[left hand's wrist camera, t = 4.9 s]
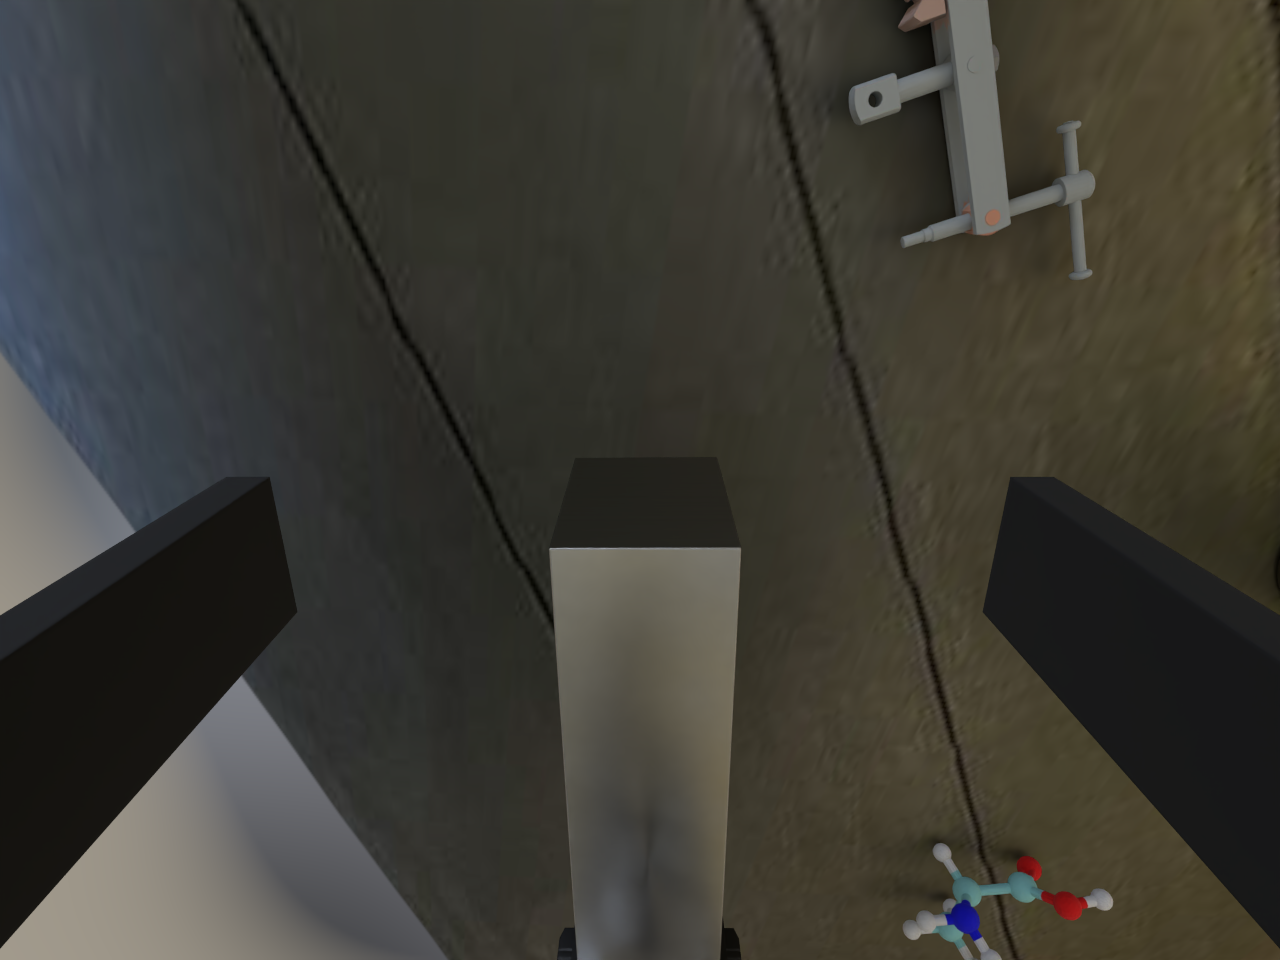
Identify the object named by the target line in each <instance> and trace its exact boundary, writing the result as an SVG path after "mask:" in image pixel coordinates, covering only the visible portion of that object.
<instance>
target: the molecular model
mask: <svg viewBox="0 0 1280 960" xmlns="http://www.w3.org/2000/svg"><path fill="white" fill-rule="evenodd" d="M933 854H934V856H935V858H936V859H937V860H939V861H940V862H943V863H944V864H945V866H946V868H947V869H948V871H949V872H950V874H951V875H952V877H953V878H954V880H955V881H954V884H953V894H954V896H955V898H956V899H957V901H955V900H953V899H946V900H945V901H944V903H943V910H944V912H942V913H941V914H940V915H933V914H932V913H930V912H929V911H925V910H923V911H920V912H919V913H918V914H917V917H916V921H917V922H915V921H914V920H907V921H906V922H905V923H904V924H903V931H904V933H905V935H906V936H907V937H908V938H909V939H912V940H916V939H918V938H919V937H920V935H921V934H927V933H939V934H940V935H941V936H942V938H944V939H945V940H947V941H950V942H954V943H955V944H956V946H957V948H958V949H959V951H960V953H961V955H962V956H963V958H964V960H978V959H976V958H973V956H972V954H971V953H970V951H969V949H968V948H967V946H966V945H965V943H964V941H963V940H962V936H963V933H966V934H970V936H971V937H972V939H973V941H974V942H975V944H976V946H977V947H978V949H979V951H980V952H981V960H1002V959H1001V957H1000V955H999V954H998V953H997V952H996V951H994V950H992V949H989V947H988V945H987V944H986V942H985V940H984V939H983V937H982V936H981V934H980V933H979V931H978V928H979V924H980V921H979V916H978V914H977V912H976V910H975V909H974V908H973V907H974V906H976V905H977V904H978V903H979V902H980V900H981V896H983V895H996V894H1008V893H1011V894H1012V896H1013V897H1014V898H1016V899H1017V900H1019V901H1021V902H1031V901H1033V900H1034V899H1035V898H1038V899H1040V900H1043V901H1045V902H1047V903H1049V904H1052V905H1054V908H1055V910H1056V911H1057V913H1058V914H1059V915H1060V916H1061V917H1063V918H1065V919H1067V920H1076V919H1077V918H1079V917H1080V915H1081V913H1082V909H1084V908H1090V907H1095V906H1096V907H1097V908H1098V909H1101V910H1109V909H1110V908H1111V907H1112V906H1113V899H1112V897H1111V895H1110V894H1109V893H1108V892H1107V891H1105V890H1103V889H1100V888H1097V889H1094V890H1093V891H1092V892H1091V895H1090V896H1085V897H1080V898H1076V897H1075V896H1074V895H1073V894H1071V893H1069V892H1058V893H1057V894H1056V895H1053V894H1051V893H1048V892H1046V891H1043V890H1041V889H1038V888H1037V885H1036V883H1035V880H1038V879H1039V878H1040V876H1041V874H1042V869H1041V866H1040V864H1039V863H1038V861H1036V860H1035V859H1034V858H1032V857H1030V856H1023V857H1021V858H1020V859H1019V860H1018V861H1017V870H1018V872H1015V873H1013V874H1011V875H1010V876H1009V878H1008V883H1002V884H990V885H979V886H978V884H977V883H976V882H975V881H974V880H972V879H971V878H969V877H962V875H961V874H960V872H959V871H958V869H957V867H956V866H955V864H954V863H953V861H952V860H951V851H950V849H949V847H948V846H947V845H945V844H943V843H938V844H936V845H935V846H934V848H933Z"/></svg>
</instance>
